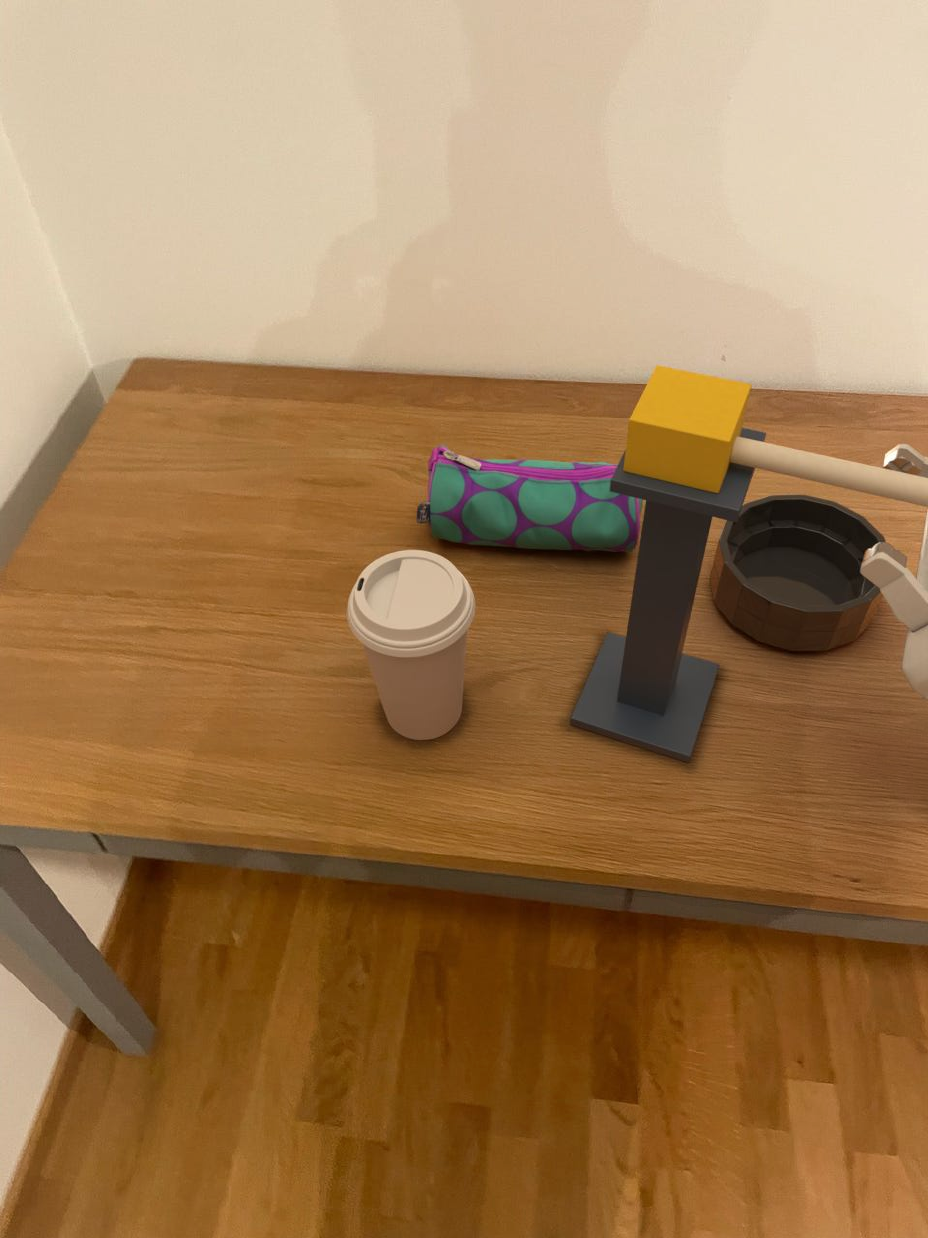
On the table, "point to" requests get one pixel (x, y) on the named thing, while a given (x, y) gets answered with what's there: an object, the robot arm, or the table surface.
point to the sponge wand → (732, 442)
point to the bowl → (796, 572)
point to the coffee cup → (414, 638)
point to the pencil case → (528, 504)
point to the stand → (661, 619)
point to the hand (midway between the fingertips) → (880, 502)
